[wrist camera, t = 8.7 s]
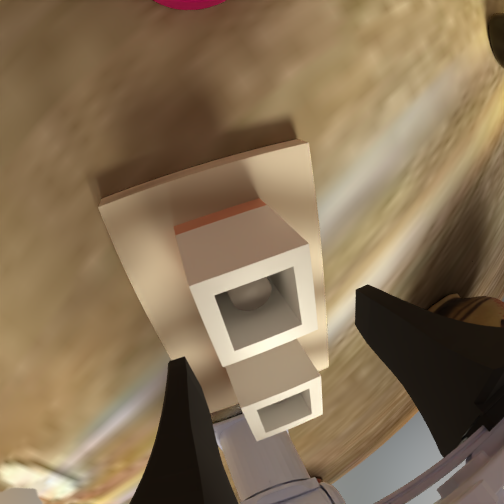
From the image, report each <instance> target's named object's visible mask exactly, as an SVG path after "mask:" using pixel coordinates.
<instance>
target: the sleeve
mask: <svg viewBox="0 0 504 504" xmlns="http://www.w3.org/2000/svg"><path fill="white" fill-rule="evenodd" d="M173 227H174V231H175V235H176V239H177V243H178V247H179V251H180V255H181V259H182V263H183V266H184V270H185V274H186V278H187V281H188V285H189V288H190V290H191V293H192V295H193V298H194V300H195V303H196V305H197V308H198V310H199V313H200V315H201V318H202V320H203V323H204V325H205V327H206V330H207V332H208V334H209V337H210V339H211V341H212V344H213V346H214V348H215V351H216V353H217V355H218V358H219V360H220V362H221V364H222V367H225V366H228V365H230V364H233V363H236V362H239V361H241V360H244V359H247V358H249V357H252V356H255V355H257V354H260V353H262V352H265V351H267V350H270V349H272V348H275V347H277V346H280V345H282V344H285V343H287V342H290V341H292V340H294V339H297V338H299V337H302V336H304V335H306V334H309V333H311V332H313V331H316V330H318V324H317V313H316V303H315V293H314V284H313V275H312V266H311V257H310V249H309V243H308V242H307V241H306V240H305V239H303V238H302V237H301V236H300V235H299V234H298V233H297V232H296V231H295V230H294V229H293V228H292V227H290V226H289V225H288V224H287V223H286V222H285V221H284V220H283V219H282V218H281V217H280V216H278V215H277V214H276V213H275V212H274V211H273V210H272V209H271V208H270V207H269V206H267V205H266V204H265V203H264V202H263V201H262V200H261V199H260V198H258V199H255V200H252V201H249V202H245V203H242V204H239V205H236V206H233V207H230V208H227V209H224V210H221V211H218V212H215V213H212V214H209V215H206V216H203V217H200V218H197V219H194V220H191V221H188V222H185V223H182V224H179V225H176V226H173ZM264 277H266V278H267V279H268V280H269V282H270V284H271V288H272V291H271V295H270V297H269V299H268V301H267V302H266V303H265V304H264V305H263V306H261V307H259V308H257V309H255V310H251V311H243V310H239V309H238V308H236V307H235V306H234V305H233V303H232V301H231V299H230V297H229V295H228V293H227V291H228V290H231V289H234V288H237V287H239V286H242V285H245V284H248V283H250V282H253V281H256V280H259V279H261V278H264Z"/></svg>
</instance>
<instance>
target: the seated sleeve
mask: <svg viewBox="0 0 504 504" xmlns="http://www.w3.org/2000/svg"><path fill="white" fill-rule="evenodd" d="M225 368H226V370H227V373H228V376H229V378H230V381H231V384H232V386H233V389H234V392H235V394H236V397H237V400H238V402H239V405H240V407H241V410H242V412H243V414H244V416H245V418H246V420H247V422H248V424H249V427H250V429H251V431H252V433H253V435H254V437H255V439H256V441H259V440H262V439H265V438H267V437H270V436H273V435H275V434H278V433H280V432H283V431H285V430H288V429H290V428H293V427H295V426H297V425H300V424H302V423H304V422H306V421H309V420H311V419H313V418H315V417H318V416H320V415H322V414H323V408H322V388H321V375H320V374H319V372H318V371H317V369H316V368H315V366H314V365H313V363H312V361H311V360H310V358H309V357H308V355H307V354H306V352H305V351H304V349H303V348H302V346H301V344H300V343H299V341H298V340H297V339H294V340H292V341H290V342H287V343H285V344H282V345H280V346H277V347H275V348H272V349H270V350H267V351H265V352H262V353H260V354H257V355H255V356H252V357H249V358H247V359H244V360H241V361H239V362H236V363H233V364H230V365H228V366H225ZM286 398H287V399H286ZM283 399H286V400H284V401H283V402H281V403H278V404H274V405H271V404H273V403H276V402H278V401H281V400H283Z"/></svg>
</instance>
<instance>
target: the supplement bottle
mask: <svg viewBox="0 0 504 504" xmlns="http://www.w3.org/2000/svg"><path fill="white" fill-rule="evenodd" d="M489 37H490V42H491V46H492V50H493V53H494V55H495V57H496V59H497V61H498V63H499V64H500V65H501V66H502V67H503V68H504V13H496V14H494V15H493V16H492V17H491V19H490V22H489Z"/></svg>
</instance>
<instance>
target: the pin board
mask: <svg viewBox="0 0 504 504" xmlns="http://www.w3.org/2000/svg"><path fill="white" fill-rule="evenodd" d="M258 198H260V199H261V200H262V201H263V202H264V203H265V204H266V205H267V206H269V207H270V208H271V209H272V210H273V211H274V212H275V213H276V214H277V215H278V216H280V217H281V218H282V219H283V220H284V221H285V222H286V223H287V224H288V225H289V226H290V227H292V228H293V229H294V230H295V231H296V232H297V233H298V234H299V235H300V236H301V237H302V238H303V239H305V240H306V241H307V242H308V243H309V249H310V257H311V266H312V275H313V284H314V293H315V303H316V313H317V324H318V330H316V331H313V332H311V333H309V334H306V335H304V336H302V337H299V338H297V340H298V341H299V343H300V344H301V346H302V348H303V349H304V351H305V352H306V354H307V355H308V357H309V358H310V360H311V361H312V363H313V365H314V366H315V368H316V369H317V371H318V372H319V371H321V370H323V369H325V368H327V367H329V361H328V336H327V317H326V301H325V286H324V273H323V261H322V250H321V239H320V229H319V219H318V210H317V202H316V193H315V185H314V177H313V169H312V162H311V155H310V148H309V143H308V142H305V141H302V140H299V139H295V140H291V141H286V142H282V143H278V144H274V145H270V146H266V147H262V148H258V149H254V150H250V151H247V152H243V153H239V154H235V155H232V156H228V157H225V158H221V159H218V160H214V161H211V162H208V163H204V164H201V165H198V166H194V167H191V168H188V169H185V170H182V171H178V172H175V173H172V174H169V175H166V176H163V177H160V178H157V179H154V180H151V181H148V182H146V183H143V184H140V185H137V186H134V187H131V188H129V189H126V190H123V191H121V192H118V193H115V194H113V195H110V196H107V197H105V198H102V199H101V201H100V204H99V206H98V209H99V211H100V214H101V216H102V219H103V221H104V224H105V226H106V228H107V231H108V233H109V236H110V238H111V240H112V243H113V245H114V247H115V249H116V252H117V254H118V256H119V258H120V261H121V263H122V265H123V267H124V269H125V272H126V274H127V276H128V278H129V280H130V282H131V284H132V286H133V288H134V290H135V292H136V295H137V297H138V299H139V301H140V303H141V305H142V307H143V308H144V310H145V312H146V314H147V316H148V318H149V320H150V322H151V324H152V326H153V328H154V330H155V331H156V333H157V335H158V337H159V339H160V341H161V342H162V344H163V346H164V348H165V350H166V351H167V353H168V355H169V357H170V358H171V360H175V359H178V358H181V357H184V356H185V358H186V359H187V361H188V363H189V365H190V367H191V369H192V371H193V372H194V374H195V376H196V378H197V380H198V381H199V383H200V385H201V387H202V390H203V393H204V396H205V399H206V402H207V405H208V408H209V411H210V413H213V412H216V411H219V410H222V409H225V408H228V407H231V406H234V405H237V404H239V402H238V400H237V397H236V394H235V392H234V389H233V386H232V384H231V381H230V378H229V376H228V373H227V370H226V368H225V367H222V364H221V362H220V360H219V358H218V355H217V353H216V351H215V348H214V346H213V344H212V341H211V339H210V337H209V334H208V332H207V330H206V327H205V325H204V323H203V320H202V318H201V315H200V313H199V310H198V308H197V305H196V303H195V300H194V298H193V295H192V293H191V290H190V288H189V285H188V281H187V278H186V274H185V270H184V266H183V263H182V259H181V255H180V251H179V247H178V243H177V239H176V235H175V231H174V227H173V226H176V225H179V224H182V223H185V222H188V221H191V220H194V219H197V218H200V217H203V216H206V215H209V214H212V213H215V212H218V211H221V210H224V209H227V208H230V207H233V206H236V205H239V204H242V203H245V202H249V201H252V200H255V199H258ZM271 291H272V288H271V284H270V282H269V280H268V279H267V278H266V277H264V278H261V279H259V280H256V281H253V282H250V283H248V284H245V285H242V286H239V287H237V288H234V289H231V290H228V291H227V293H228V295H229V297H230V299H231V301H232V303H233V305H234V306H235V307H236V308H238V309H239V310H243V311H251V310H255V309H257V308H259V307H261V306H263V305H264V304H265V303H266V302H267V301H268V299H269V297H270V295H271ZM286 399H287V398H286ZM286 399H283V400H281V401H278V402H276V403H273V404H271V405H274V404H278V403H281V402H283V401H284V400H286Z"/></svg>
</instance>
